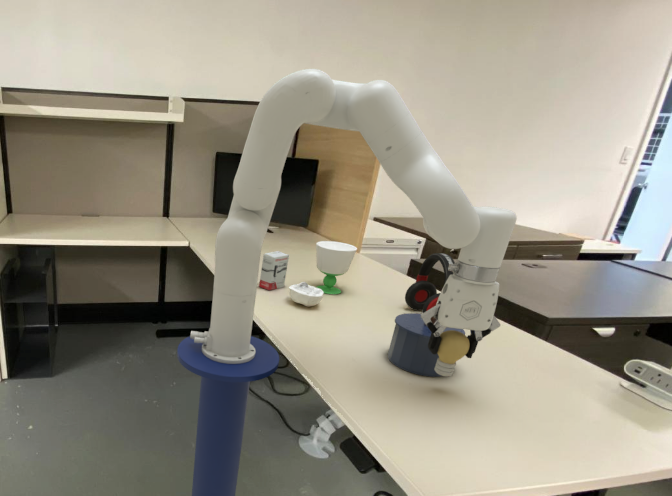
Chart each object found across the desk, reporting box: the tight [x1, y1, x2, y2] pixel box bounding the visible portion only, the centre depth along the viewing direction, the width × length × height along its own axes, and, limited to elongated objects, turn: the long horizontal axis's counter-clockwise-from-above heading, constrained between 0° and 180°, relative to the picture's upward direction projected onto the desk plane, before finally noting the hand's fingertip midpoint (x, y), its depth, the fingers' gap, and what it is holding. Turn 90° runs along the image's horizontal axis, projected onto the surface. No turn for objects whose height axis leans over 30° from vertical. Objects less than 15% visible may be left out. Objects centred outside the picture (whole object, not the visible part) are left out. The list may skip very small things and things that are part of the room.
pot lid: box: [394, 312, 466, 339], centre depth 111 cm, size 16×16×4 cm
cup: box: [315, 240, 358, 295], centre depth 161 cm, size 14×14×16 cm
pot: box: [387, 323, 443, 378], centre depth 113 cm, size 15×15×10 cm
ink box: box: [258, 250, 290, 291], centre depth 160 cm, size 8×5×12 cm, turn 134°
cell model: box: [288, 281, 325, 307], centre depth 147 cm, size 10×12×7 cm
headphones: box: [404, 252, 456, 314], centre depth 142 cm, size 18×10×20 cm, turn 3°
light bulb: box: [434, 330, 470, 377], centre depth 99 cm, size 6×6×10 cm
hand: (449, 352), depth 99 cm, fingers closed on light bulb, 6 cm apart
